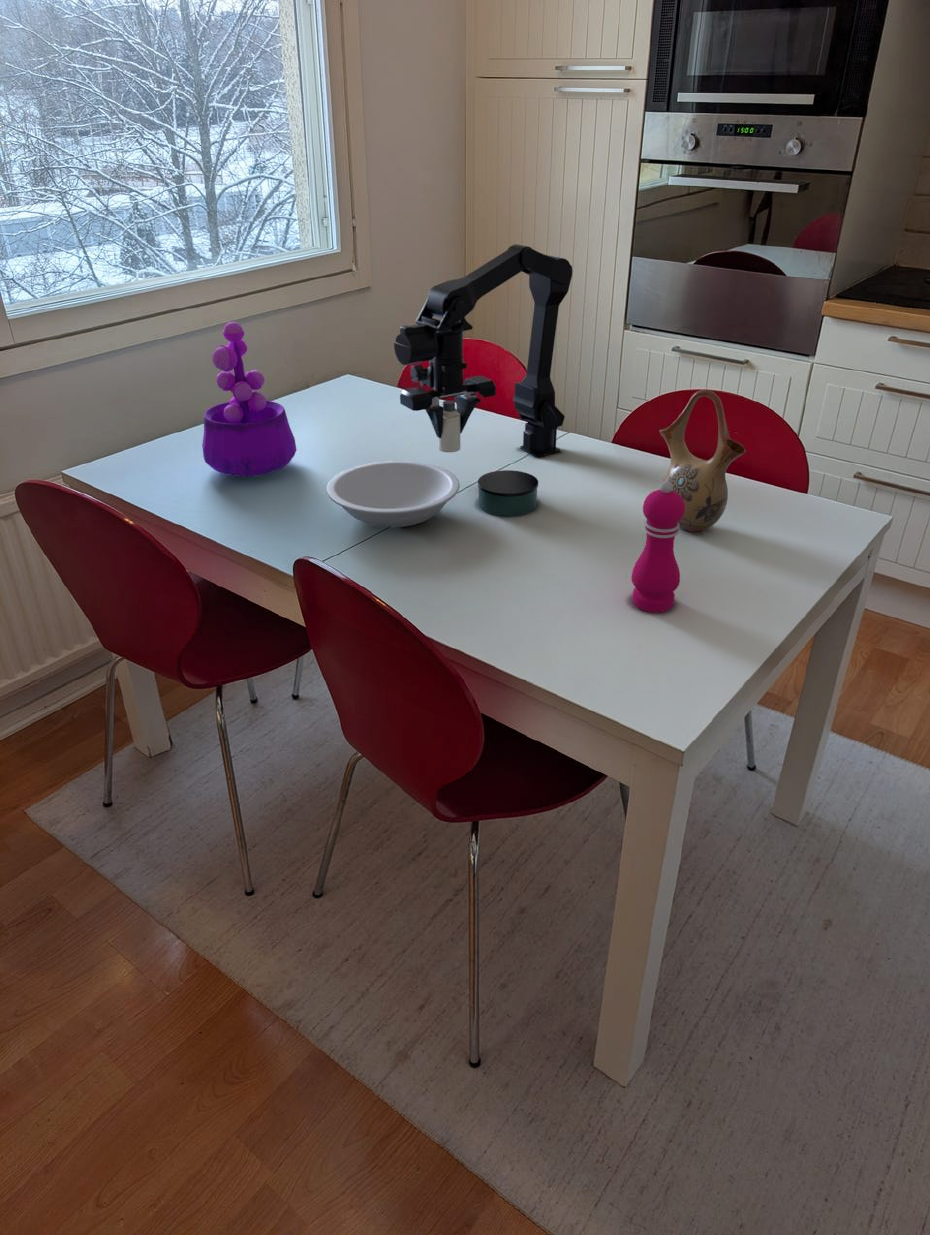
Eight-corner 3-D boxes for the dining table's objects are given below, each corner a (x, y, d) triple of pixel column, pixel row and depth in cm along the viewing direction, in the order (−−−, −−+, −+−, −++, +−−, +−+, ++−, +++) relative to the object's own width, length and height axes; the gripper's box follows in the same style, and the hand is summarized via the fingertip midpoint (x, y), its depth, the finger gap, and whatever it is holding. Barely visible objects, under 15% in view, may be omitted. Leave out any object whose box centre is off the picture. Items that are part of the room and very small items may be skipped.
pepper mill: (624, 592, 140) (635, 472, 130) (669, 590, 140) (684, 470, 130) (635, 615, 134) (648, 492, 123) (682, 613, 134) (699, 490, 124)
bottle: (453, 443, 181) (452, 397, 176) (464, 449, 178) (464, 403, 173) (434, 447, 179) (433, 401, 174) (445, 454, 176) (444, 407, 171)
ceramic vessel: (743, 533, 158) (767, 394, 145) (715, 549, 152) (737, 406, 140) (665, 506, 168) (681, 374, 155) (637, 521, 162) (651, 385, 150)
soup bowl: (305, 535, 158) (302, 500, 155) (364, 485, 178) (362, 454, 174) (430, 555, 151) (429, 520, 148) (477, 501, 170) (477, 469, 167)
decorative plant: (269, 492, 175) (249, 337, 160) (188, 481, 180) (161, 329, 165) (313, 459, 190) (298, 314, 175) (237, 449, 195) (216, 308, 180)
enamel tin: (515, 488, 176) (515, 466, 174) (549, 507, 168) (550, 485, 165) (466, 500, 171) (466, 478, 169) (499, 521, 163) (499, 498, 160)
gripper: (467, 340, 179) (467, 416, 187) (384, 353, 171) (388, 432, 179) (497, 352, 171) (497, 431, 179) (412, 367, 163) (415, 448, 171)
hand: (449, 435), depth 177 cm, fingers closed on bottle, 4 cm apart
